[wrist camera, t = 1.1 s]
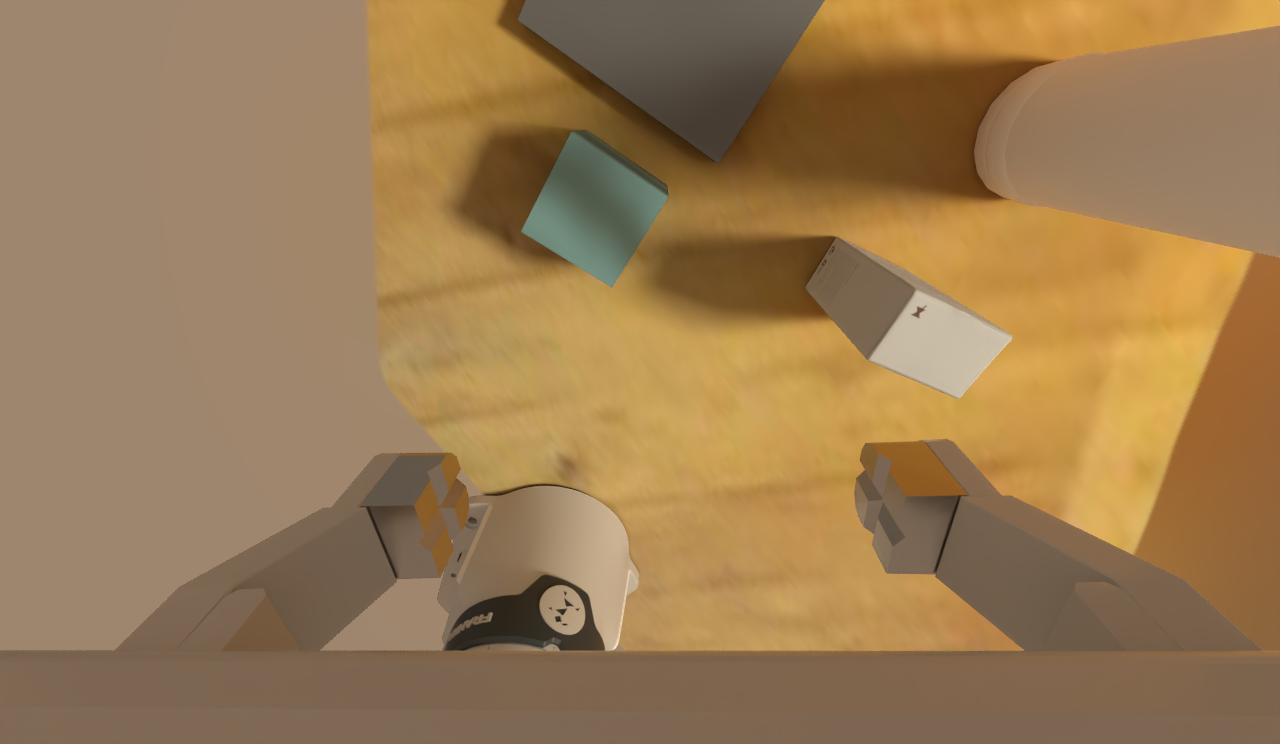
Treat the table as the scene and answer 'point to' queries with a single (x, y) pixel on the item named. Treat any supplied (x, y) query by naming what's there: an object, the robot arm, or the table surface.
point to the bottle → (1148, 138)
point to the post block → (679, 55)
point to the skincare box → (904, 320)
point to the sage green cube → (595, 207)
